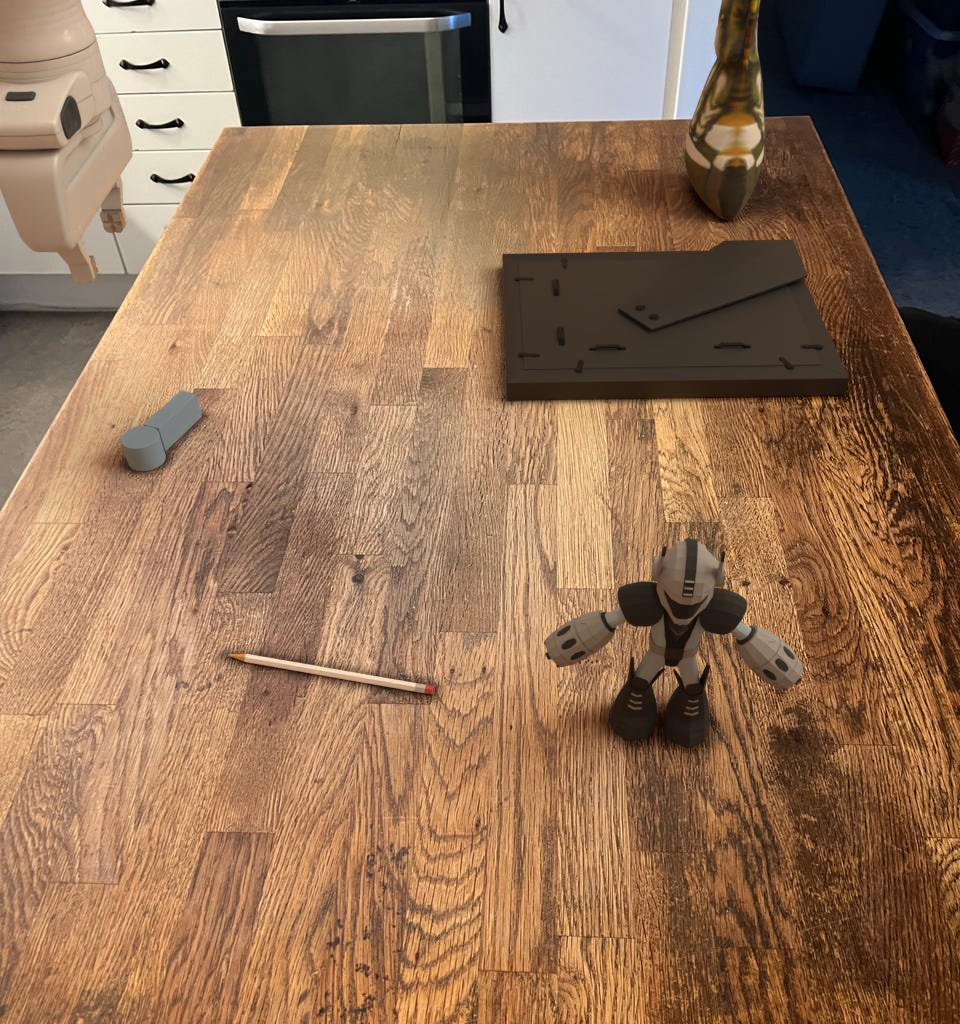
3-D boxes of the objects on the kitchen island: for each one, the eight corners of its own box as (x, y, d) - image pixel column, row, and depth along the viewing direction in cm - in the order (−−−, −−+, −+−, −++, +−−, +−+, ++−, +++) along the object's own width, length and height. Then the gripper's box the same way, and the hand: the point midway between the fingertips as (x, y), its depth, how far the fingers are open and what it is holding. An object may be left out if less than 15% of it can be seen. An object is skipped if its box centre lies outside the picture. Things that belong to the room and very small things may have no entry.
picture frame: (787, 265, 133) (502, 270, 134) (793, 239, 131) (502, 244, 131) (844, 395, 113) (506, 400, 113) (852, 367, 110) (506, 373, 110)
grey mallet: (180, 410, 113) (173, 388, 110) (209, 418, 112) (204, 395, 109) (120, 466, 106) (112, 443, 104) (151, 475, 105) (143, 451, 103)
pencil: (432, 696, 84) (431, 691, 83) (226, 660, 87) (224, 655, 86) (434, 689, 84) (434, 684, 84) (230, 653, 87) (228, 648, 87)
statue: (766, 222, 142) (824, -73, 116) (691, 224, 142) (732, -70, 116) (740, 173, 153) (788, -105, 128) (670, 176, 153) (704, -102, 127)
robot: (779, 711, 82) (840, 527, 67) (783, 758, 79) (847, 576, 64) (543, 686, 84) (552, 502, 69) (537, 731, 81) (545, 549, 66)
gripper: (52, 42, 86) (100, 203, 96) (-37, 135, 72) (30, 311, 82) (124, 41, 86) (165, 202, 96) (49, 134, 72) (106, 310, 82)
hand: (102, 253), depth 89 cm, fingers open, 8 cm apart
